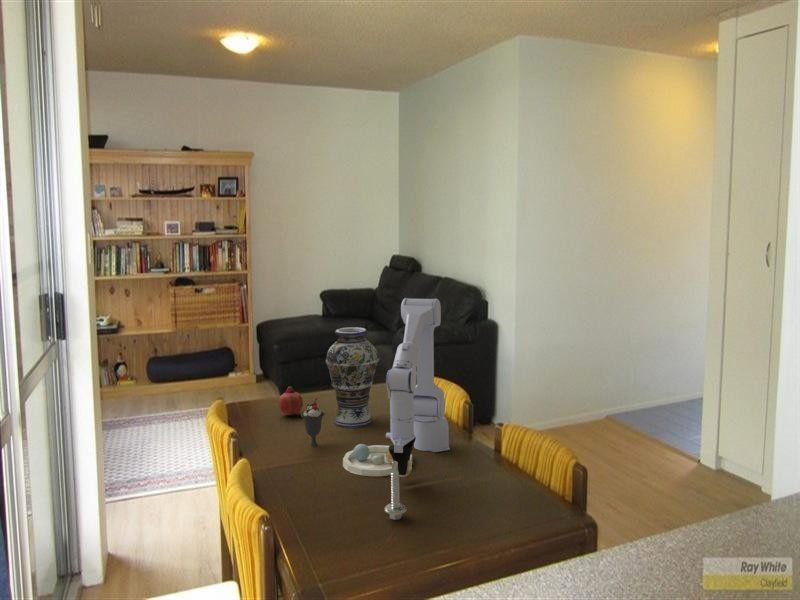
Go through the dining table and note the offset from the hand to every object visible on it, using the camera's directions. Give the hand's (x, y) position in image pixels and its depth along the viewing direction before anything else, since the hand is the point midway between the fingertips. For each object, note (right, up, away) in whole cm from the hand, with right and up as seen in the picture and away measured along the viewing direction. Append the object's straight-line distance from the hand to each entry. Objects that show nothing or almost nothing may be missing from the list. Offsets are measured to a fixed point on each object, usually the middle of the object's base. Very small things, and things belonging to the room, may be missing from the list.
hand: (402, 470), depth 162 cm
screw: (-2, -6, -16) cm, 18 cm away
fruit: (-37, +3, +58) cm, 69 cm away
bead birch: (0, -1, 0) cm, 2 cm away
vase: (-15, +2, +51) cm, 53 cm away
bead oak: (-2, -1, +13) cm, 13 cm away
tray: (-7, -2, +14) cm, 15 cm away
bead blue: (-11, -1, +15) cm, 19 cm away
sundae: (-25, -1, +28) cm, 38 cm away
